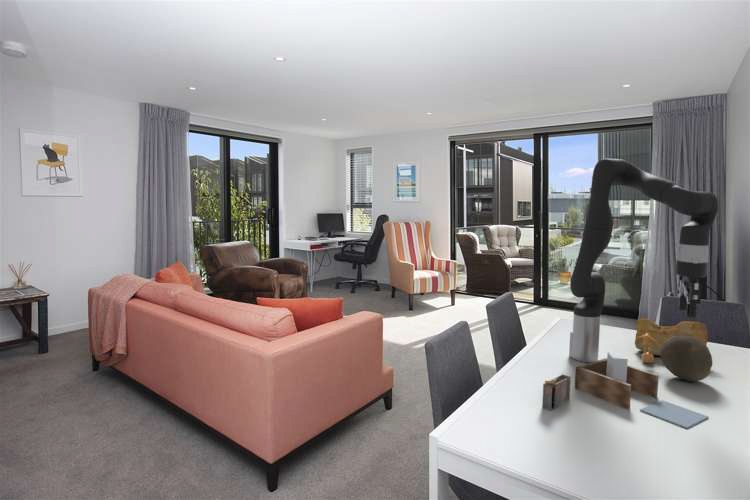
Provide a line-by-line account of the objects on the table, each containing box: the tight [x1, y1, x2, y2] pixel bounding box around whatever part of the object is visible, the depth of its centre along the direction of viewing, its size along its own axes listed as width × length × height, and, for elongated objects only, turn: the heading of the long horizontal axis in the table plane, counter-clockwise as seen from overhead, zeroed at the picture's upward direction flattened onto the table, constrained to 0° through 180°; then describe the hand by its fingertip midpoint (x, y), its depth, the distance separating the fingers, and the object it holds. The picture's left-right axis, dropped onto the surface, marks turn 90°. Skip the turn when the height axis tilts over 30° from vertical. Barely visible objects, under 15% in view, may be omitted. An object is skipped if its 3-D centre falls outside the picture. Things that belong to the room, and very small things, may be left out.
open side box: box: [574, 358, 660, 410], centre depth 140 cm, size 17×16×7 cm
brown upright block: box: [541, 373, 572, 412], centre depth 131 cm, size 11×3×10 cm, turn 131°
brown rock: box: [660, 336, 713, 382], centre depth 150 cm, size 14×14×15 cm
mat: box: [639, 399, 710, 430], centre depth 126 cm, size 12×12×1 cm
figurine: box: [634, 333, 660, 364], centre depth 165 cm, size 8×6×12 cm
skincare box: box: [606, 351, 629, 383], centre depth 139 cm, size 6×4×12 cm
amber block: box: [634, 318, 709, 357], centre depth 176 cm, size 23×17×15 cm
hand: (686, 313), depth 133 cm, fingers open, 8 cm apart
